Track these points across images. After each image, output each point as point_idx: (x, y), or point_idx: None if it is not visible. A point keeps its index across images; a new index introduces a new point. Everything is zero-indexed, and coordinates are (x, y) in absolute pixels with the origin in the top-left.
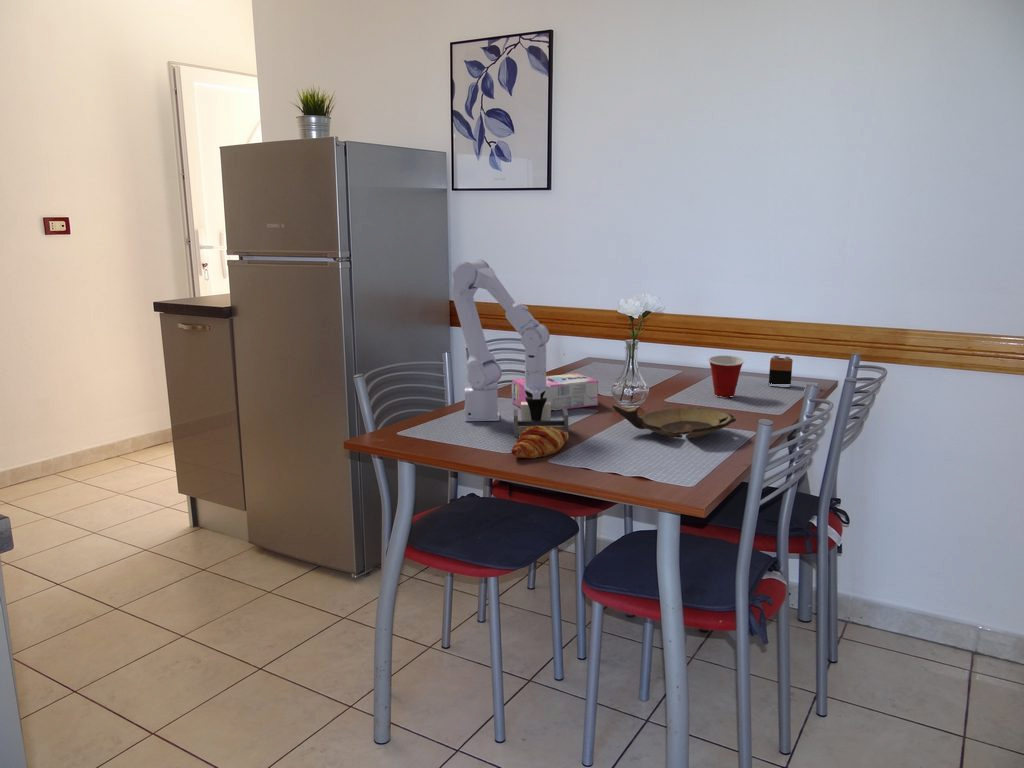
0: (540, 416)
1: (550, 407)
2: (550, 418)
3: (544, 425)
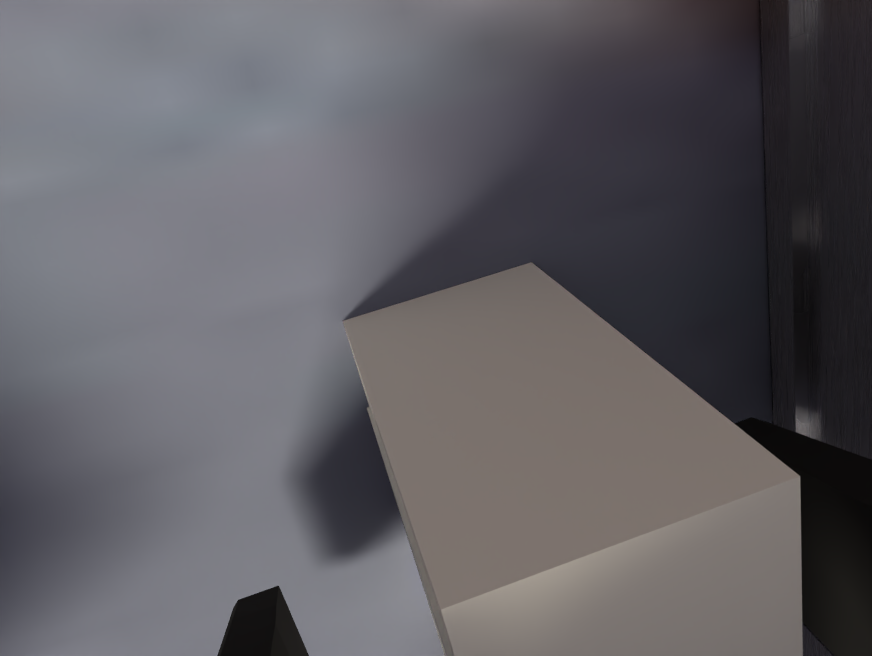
0: (862, 468)
1: (734, 428)
2: (584, 309)
3: None
